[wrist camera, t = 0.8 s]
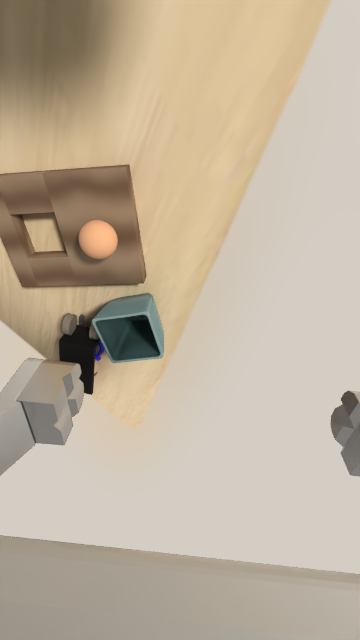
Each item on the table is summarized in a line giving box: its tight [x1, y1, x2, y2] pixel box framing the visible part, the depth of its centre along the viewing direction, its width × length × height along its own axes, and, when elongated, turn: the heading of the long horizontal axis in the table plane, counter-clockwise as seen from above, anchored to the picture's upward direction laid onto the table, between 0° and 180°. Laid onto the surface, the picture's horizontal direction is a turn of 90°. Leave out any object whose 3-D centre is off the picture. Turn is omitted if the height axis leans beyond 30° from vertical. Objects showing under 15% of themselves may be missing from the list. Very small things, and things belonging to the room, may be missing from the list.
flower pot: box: [92, 293, 164, 363], centre depth 47 cm, size 9×9×9 cm
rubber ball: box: [79, 220, 118, 259], centre depth 39 cm, size 5×5×5 cm
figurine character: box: [59, 313, 104, 395], centre depth 53 cm, size 7×8×15 cm
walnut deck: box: [0, 165, 146, 287], centre depth 42 cm, size 16×20×2 cm
